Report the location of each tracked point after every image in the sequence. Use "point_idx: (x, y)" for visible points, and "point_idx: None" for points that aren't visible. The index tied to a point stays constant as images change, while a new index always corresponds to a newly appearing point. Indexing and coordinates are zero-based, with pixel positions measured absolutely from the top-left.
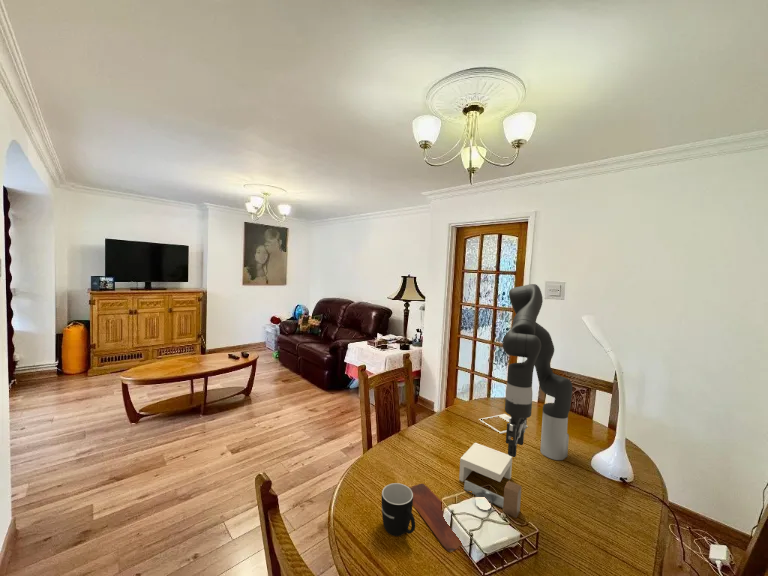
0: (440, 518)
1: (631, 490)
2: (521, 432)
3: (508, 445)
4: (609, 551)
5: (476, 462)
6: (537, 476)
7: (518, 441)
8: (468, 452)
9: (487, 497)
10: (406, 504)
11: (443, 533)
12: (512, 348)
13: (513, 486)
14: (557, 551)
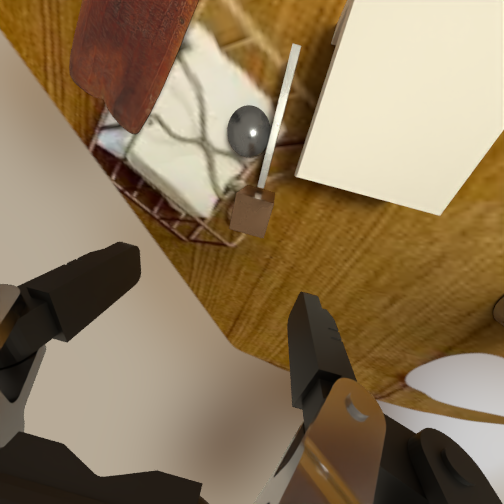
0: (126, 14)
1: (390, 380)
2: (307, 409)
3: (56, 273)
4: (239, 322)
5: (355, 58)
6: (408, 260)
7: (298, 315)
8: None
9: (254, 143)
10: None
11: (88, 45)
12: None
13: (251, 218)
14: (202, 267)
